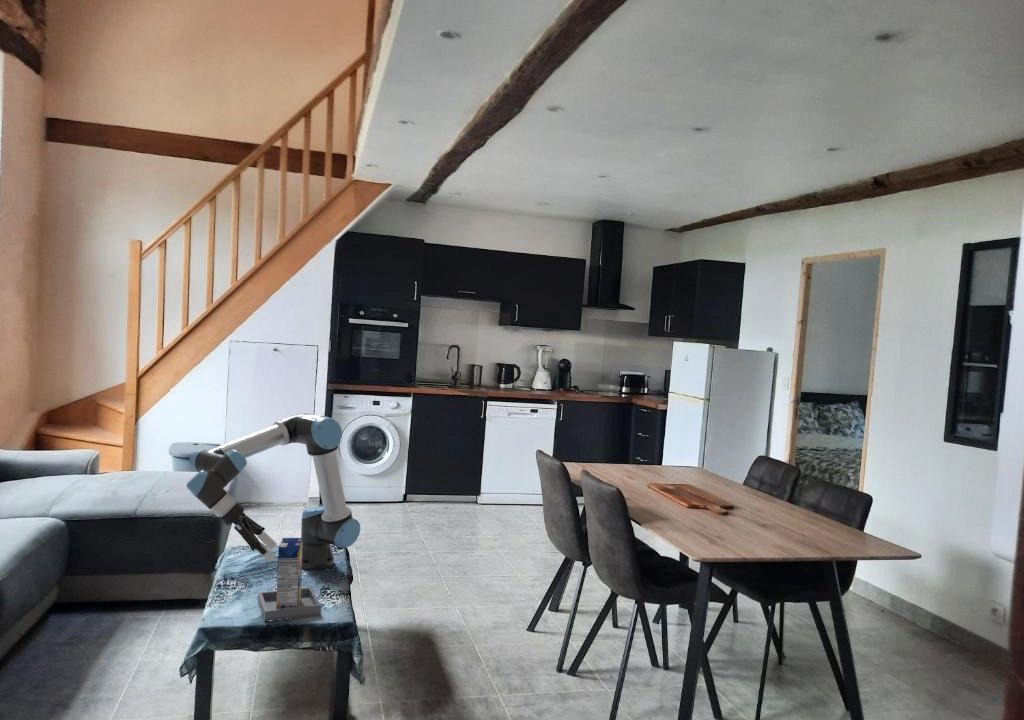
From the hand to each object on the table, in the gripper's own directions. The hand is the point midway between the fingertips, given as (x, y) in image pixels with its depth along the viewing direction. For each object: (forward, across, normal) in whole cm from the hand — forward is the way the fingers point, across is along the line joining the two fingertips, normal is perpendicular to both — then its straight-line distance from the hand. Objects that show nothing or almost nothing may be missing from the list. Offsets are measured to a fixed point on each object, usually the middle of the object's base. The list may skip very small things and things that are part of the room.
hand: (273, 552), depth 247 cm
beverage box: (+17, 0, -9) cm, 20 cm away
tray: (+18, 0, -10) cm, 21 cm away
